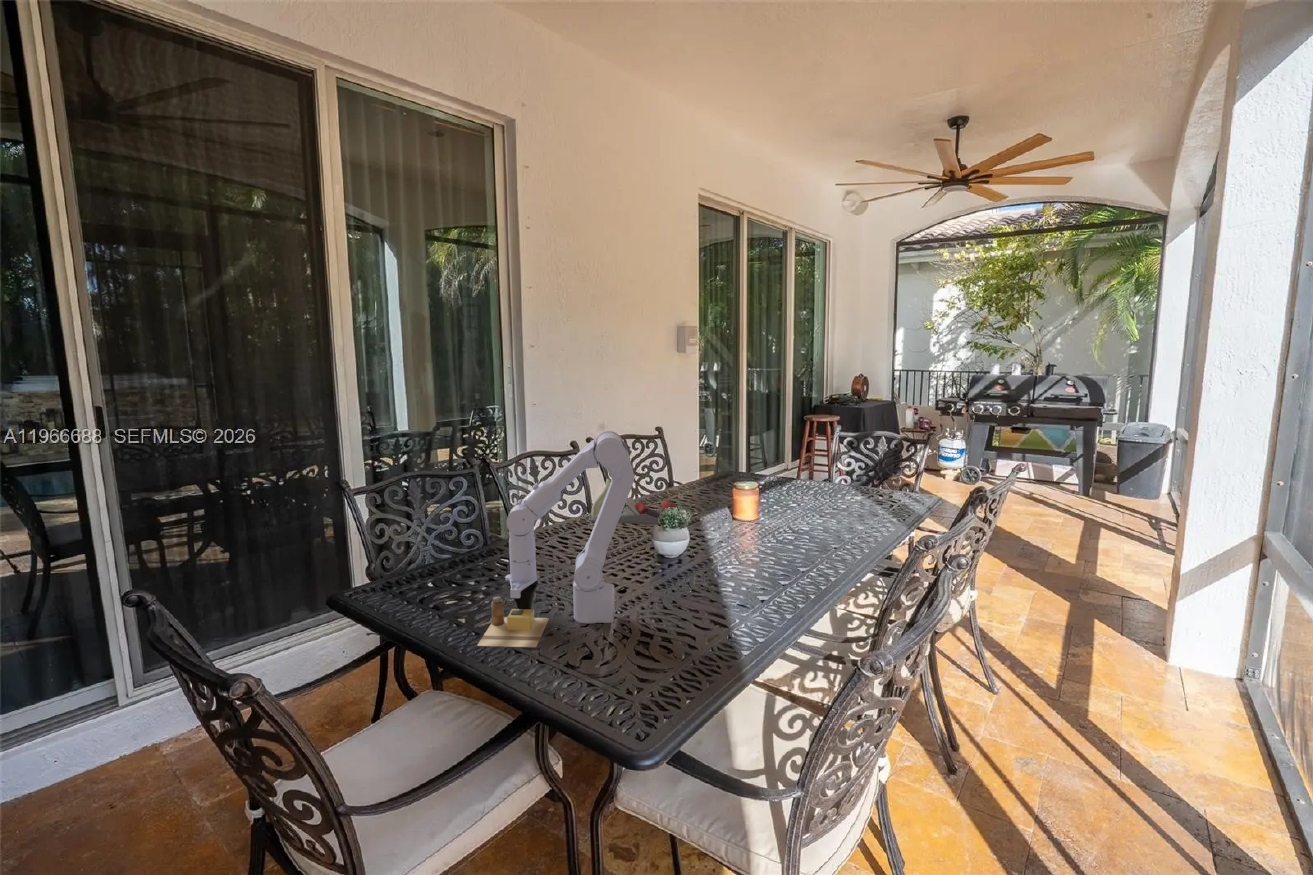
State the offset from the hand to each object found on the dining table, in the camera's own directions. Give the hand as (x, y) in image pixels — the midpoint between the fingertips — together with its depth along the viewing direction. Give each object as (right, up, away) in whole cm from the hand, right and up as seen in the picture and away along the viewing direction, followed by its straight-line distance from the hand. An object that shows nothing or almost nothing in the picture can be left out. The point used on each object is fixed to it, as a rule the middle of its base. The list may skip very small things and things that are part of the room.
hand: (524, 614), depth 140 cm
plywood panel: (-1, -3, -5) cm, 6 cm away
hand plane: (+21, +11, +76) cm, 80 cm away
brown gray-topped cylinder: (-6, -1, -2) cm, 6 cm away
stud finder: (0, -2, -3) cm, 4 cm away
